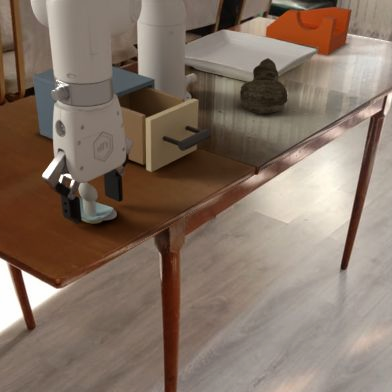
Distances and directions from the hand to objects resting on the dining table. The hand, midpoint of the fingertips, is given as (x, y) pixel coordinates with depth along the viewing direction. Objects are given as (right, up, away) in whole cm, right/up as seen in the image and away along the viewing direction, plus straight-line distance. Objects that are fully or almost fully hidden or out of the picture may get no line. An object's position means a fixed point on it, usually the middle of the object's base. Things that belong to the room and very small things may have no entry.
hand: (93, 208), depth 94 cm
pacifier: (0, -1, +1) cm, 2 cm away
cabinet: (-3, +19, +24) cm, 30 cm away
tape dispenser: (+45, +61, +75) cm, 107 cm away
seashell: (+28, +29, +37) cm, 54 cm away
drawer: (+7, +14, +17) cm, 23 cm away
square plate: (+27, +48, +58) cm, 80 cm away
